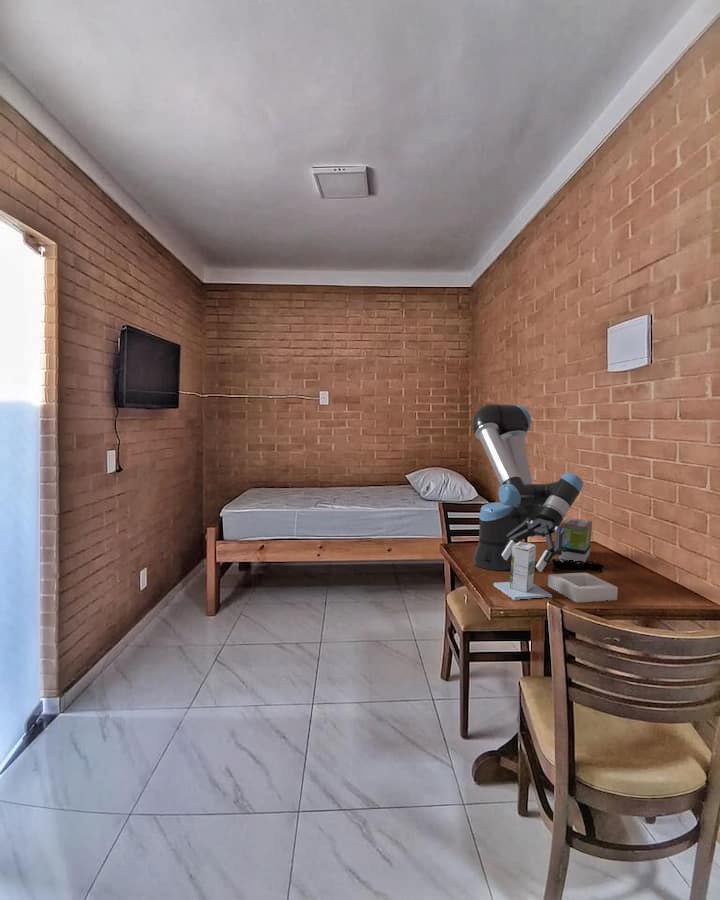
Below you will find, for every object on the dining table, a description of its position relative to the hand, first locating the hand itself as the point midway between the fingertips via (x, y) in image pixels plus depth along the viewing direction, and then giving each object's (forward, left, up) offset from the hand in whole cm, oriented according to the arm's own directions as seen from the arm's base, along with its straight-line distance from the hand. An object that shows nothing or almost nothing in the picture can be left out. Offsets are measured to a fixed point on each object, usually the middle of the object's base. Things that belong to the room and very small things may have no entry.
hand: (520, 563), depth 155 cm
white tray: (+3, +20, -10) cm, 23 cm away
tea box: (-34, +45, -10) cm, 57 cm away
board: (-1, +1, -10) cm, 10 cm away
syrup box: (-1, +1, -9) cm, 9 cm away
